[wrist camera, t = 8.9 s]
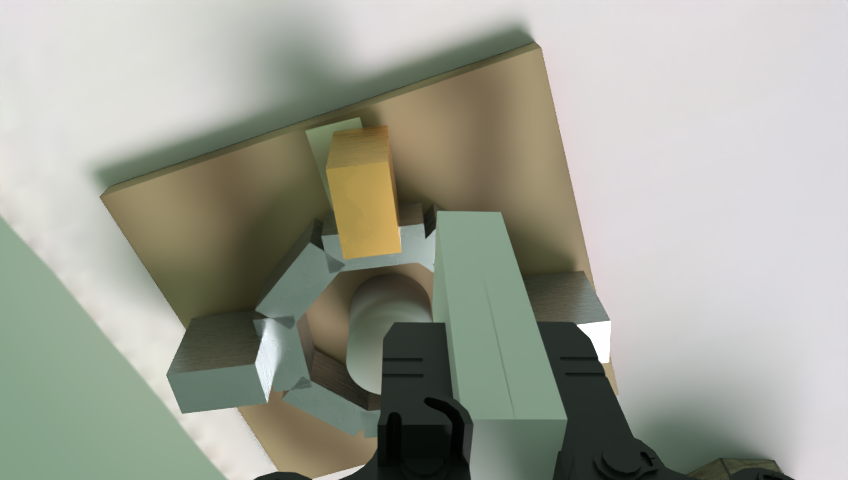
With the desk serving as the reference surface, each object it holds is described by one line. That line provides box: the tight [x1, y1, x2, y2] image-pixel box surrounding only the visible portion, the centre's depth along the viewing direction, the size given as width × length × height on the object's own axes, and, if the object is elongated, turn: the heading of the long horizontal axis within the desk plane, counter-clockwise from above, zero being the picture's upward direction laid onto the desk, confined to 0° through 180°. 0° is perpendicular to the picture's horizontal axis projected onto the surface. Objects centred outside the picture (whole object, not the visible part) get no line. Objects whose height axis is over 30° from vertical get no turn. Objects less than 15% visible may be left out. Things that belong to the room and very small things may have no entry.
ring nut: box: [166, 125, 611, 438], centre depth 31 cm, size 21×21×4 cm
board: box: [100, 42, 618, 479], centre depth 32 cm, size 22×22×6 cm
